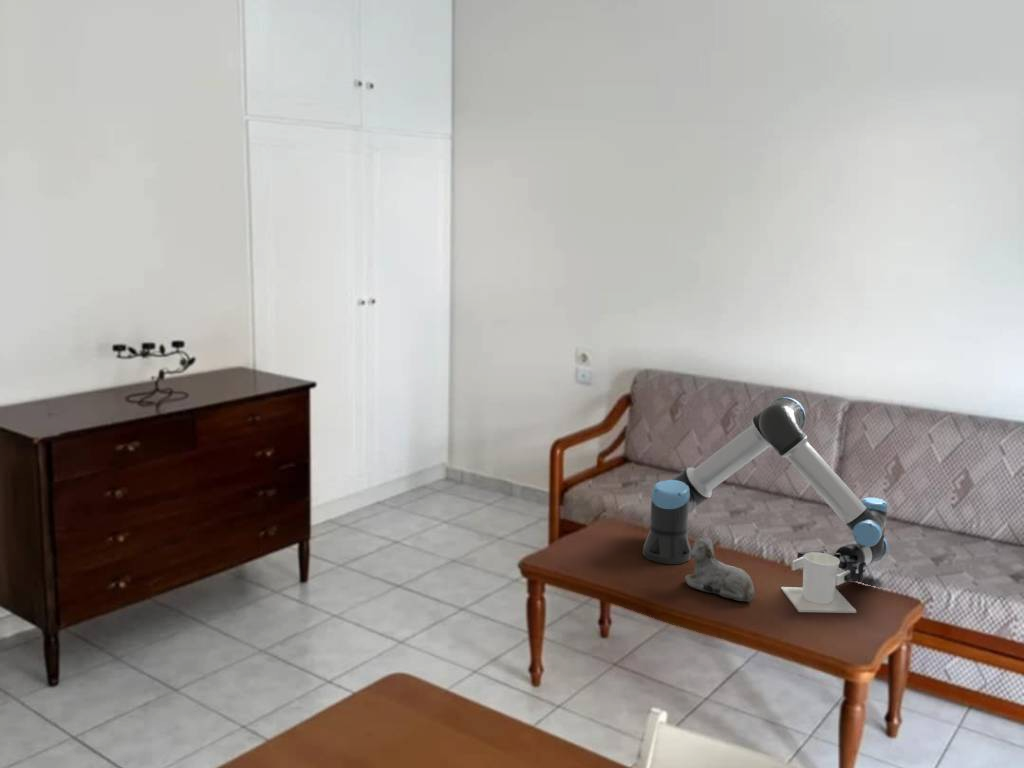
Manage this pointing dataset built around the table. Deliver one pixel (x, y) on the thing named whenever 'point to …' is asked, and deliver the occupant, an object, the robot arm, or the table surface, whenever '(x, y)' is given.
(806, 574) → the candle holder
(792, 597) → the tile
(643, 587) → the table surface
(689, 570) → the table surface
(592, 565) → the table surface
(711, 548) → the sculpture
